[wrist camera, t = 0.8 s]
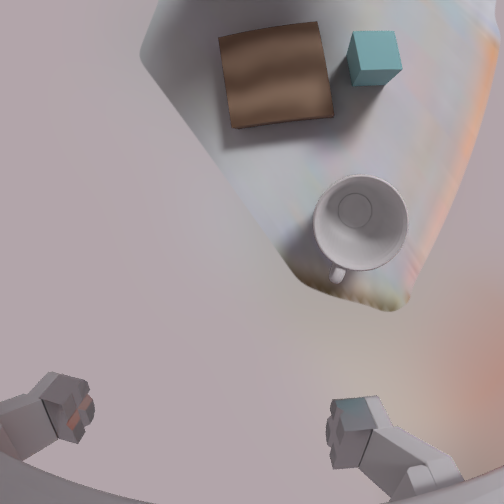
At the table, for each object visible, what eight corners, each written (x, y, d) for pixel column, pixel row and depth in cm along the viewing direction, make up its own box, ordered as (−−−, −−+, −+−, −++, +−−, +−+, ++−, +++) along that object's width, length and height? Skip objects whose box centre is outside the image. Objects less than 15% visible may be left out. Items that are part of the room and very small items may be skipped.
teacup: (295, 246, 50) (289, 270, 41) (330, 155, 45) (333, 158, 35) (365, 274, 49) (374, 303, 40) (404, 187, 44) (424, 199, 34)
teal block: (346, 55, 39) (353, 31, 29) (378, 54, 38) (394, 31, 28) (352, 86, 41) (361, 70, 30) (384, 85, 39) (402, 69, 29)
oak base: (226, 45, 42) (218, 37, 38) (317, 30, 39) (317, 21, 35) (238, 129, 46) (231, 127, 42) (333, 117, 43) (334, 114, 39)
